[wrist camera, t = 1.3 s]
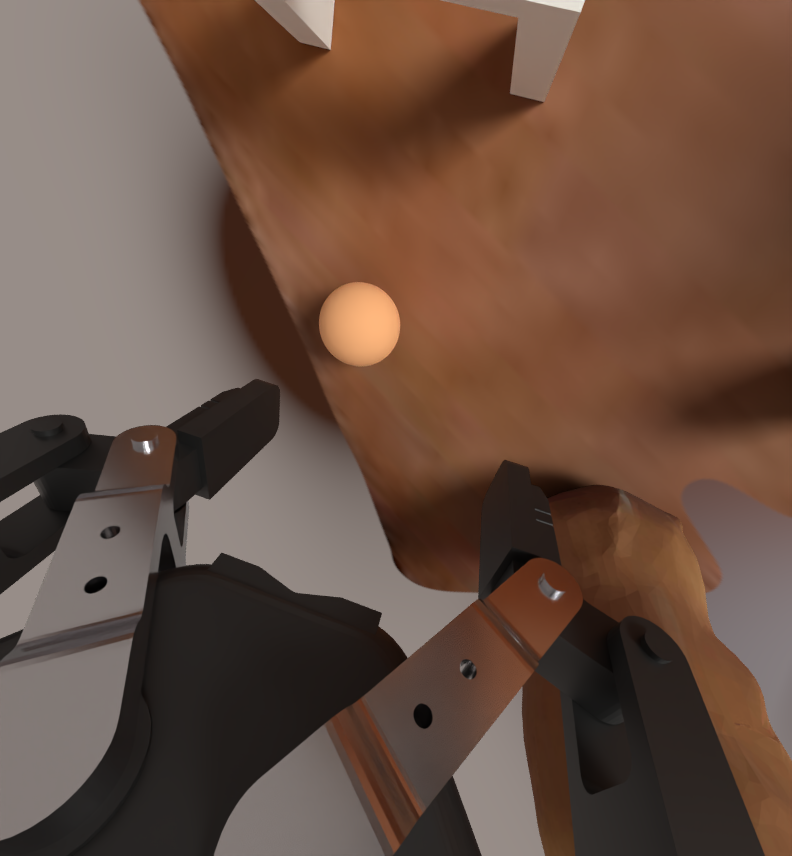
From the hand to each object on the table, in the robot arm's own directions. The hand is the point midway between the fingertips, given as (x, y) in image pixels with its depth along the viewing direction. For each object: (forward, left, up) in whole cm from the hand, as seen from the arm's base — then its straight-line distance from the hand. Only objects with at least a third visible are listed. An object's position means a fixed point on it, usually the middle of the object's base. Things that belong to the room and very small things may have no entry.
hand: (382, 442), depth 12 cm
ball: (+1, -6, -15) cm, 16 cm away
